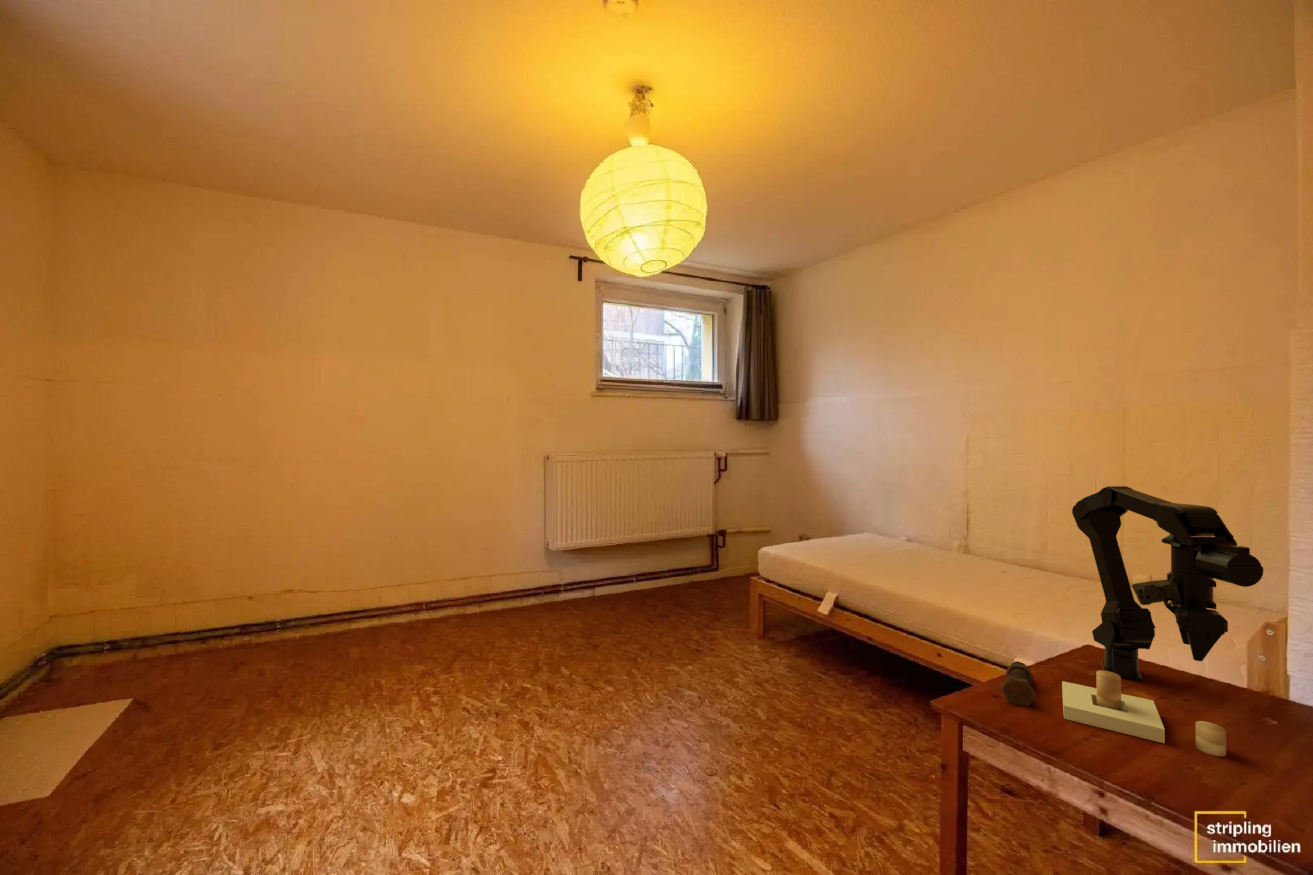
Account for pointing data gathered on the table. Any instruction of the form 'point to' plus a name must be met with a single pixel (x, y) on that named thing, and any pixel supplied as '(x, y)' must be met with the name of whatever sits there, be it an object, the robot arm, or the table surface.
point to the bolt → (1018, 684)
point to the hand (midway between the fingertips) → (1192, 651)
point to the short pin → (1210, 738)
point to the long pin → (1108, 690)
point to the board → (1113, 713)
